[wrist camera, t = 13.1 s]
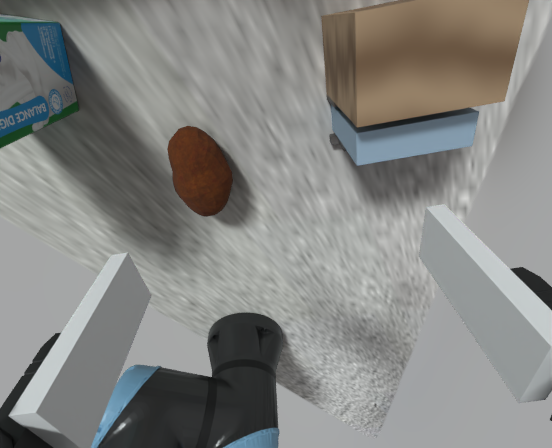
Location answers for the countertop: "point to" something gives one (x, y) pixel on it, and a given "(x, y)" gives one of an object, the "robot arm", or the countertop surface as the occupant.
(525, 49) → the countertop surface
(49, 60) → the milk carton
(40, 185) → the countertop surface
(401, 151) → the block
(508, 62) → the cabinet
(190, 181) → the potato
